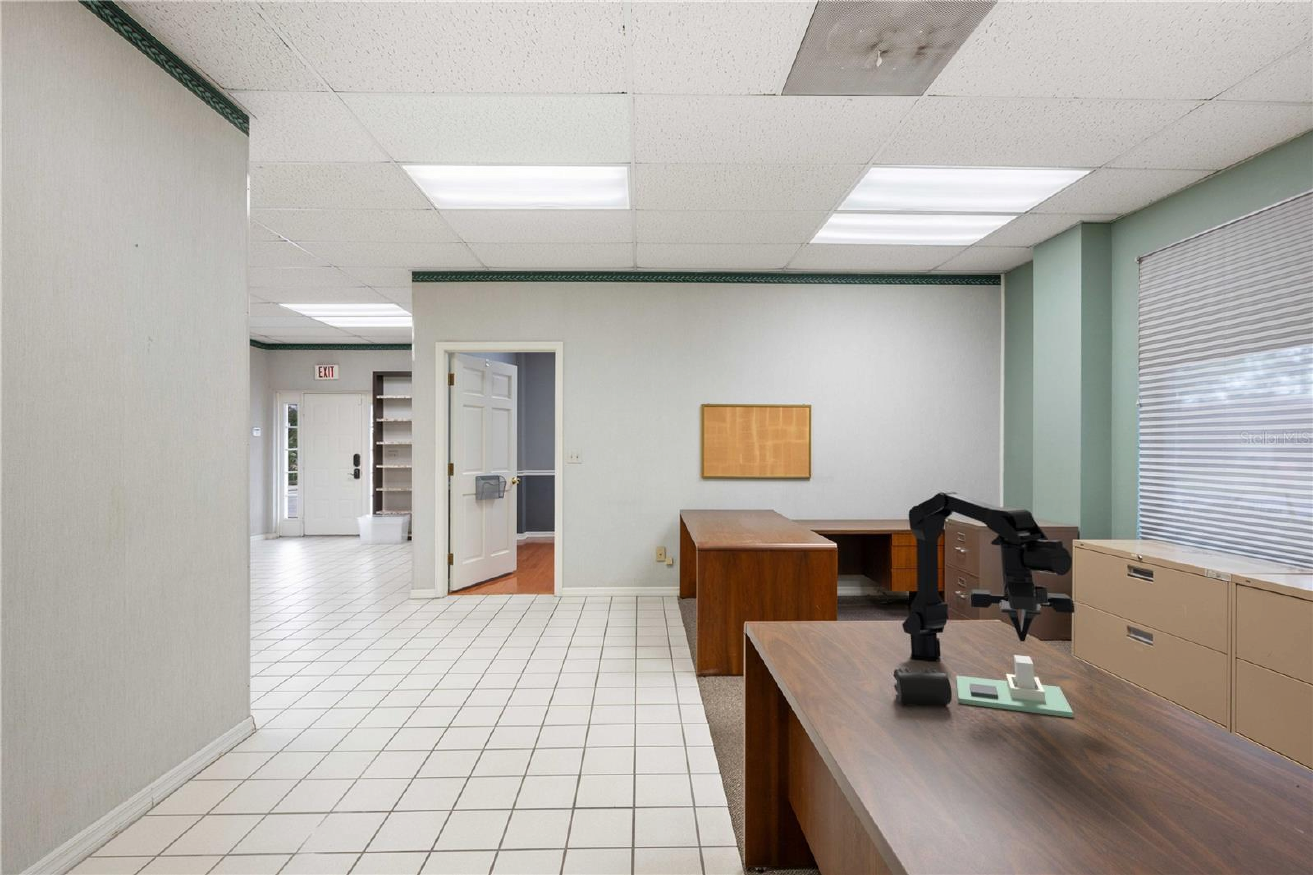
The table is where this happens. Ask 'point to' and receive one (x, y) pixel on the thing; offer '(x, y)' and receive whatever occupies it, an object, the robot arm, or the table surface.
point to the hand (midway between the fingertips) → (1022, 641)
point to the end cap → (922, 688)
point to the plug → (1024, 672)
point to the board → (1013, 696)
